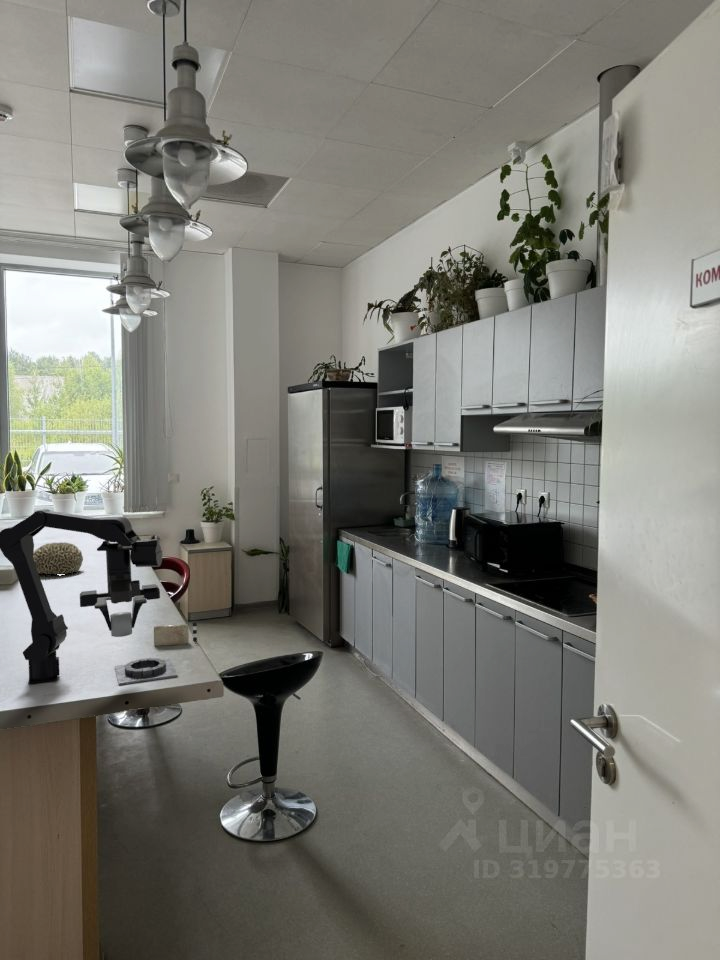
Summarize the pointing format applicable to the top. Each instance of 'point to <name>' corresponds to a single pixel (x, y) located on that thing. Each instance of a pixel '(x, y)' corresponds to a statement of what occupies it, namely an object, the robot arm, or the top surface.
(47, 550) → the coral
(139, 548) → the robot arm
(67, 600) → the top surface
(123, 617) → the cap
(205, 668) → the top surface
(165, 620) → the top surface
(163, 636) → the cuneiform tablet
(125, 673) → the notched ring on plate
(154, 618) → the top surface
